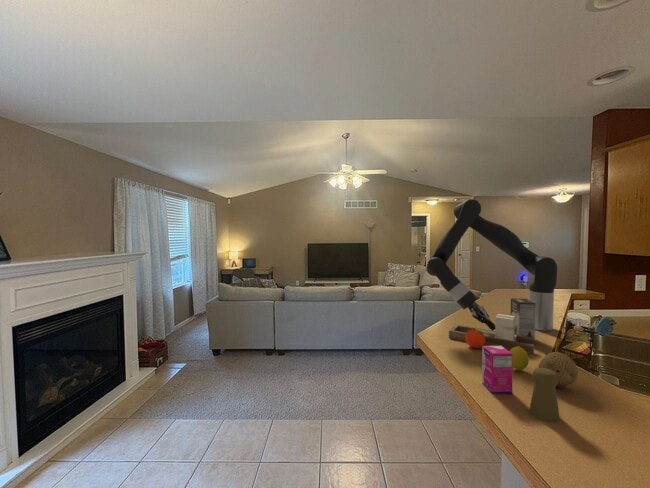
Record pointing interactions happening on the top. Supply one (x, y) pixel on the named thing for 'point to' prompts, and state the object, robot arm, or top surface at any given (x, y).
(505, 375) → the supplement box
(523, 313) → the coffee box
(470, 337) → the clementine
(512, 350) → the lemon
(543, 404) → the olive tapered cylinder
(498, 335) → the cream block
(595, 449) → the top surface
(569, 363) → the natural sponge
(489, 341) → the walnut lane
